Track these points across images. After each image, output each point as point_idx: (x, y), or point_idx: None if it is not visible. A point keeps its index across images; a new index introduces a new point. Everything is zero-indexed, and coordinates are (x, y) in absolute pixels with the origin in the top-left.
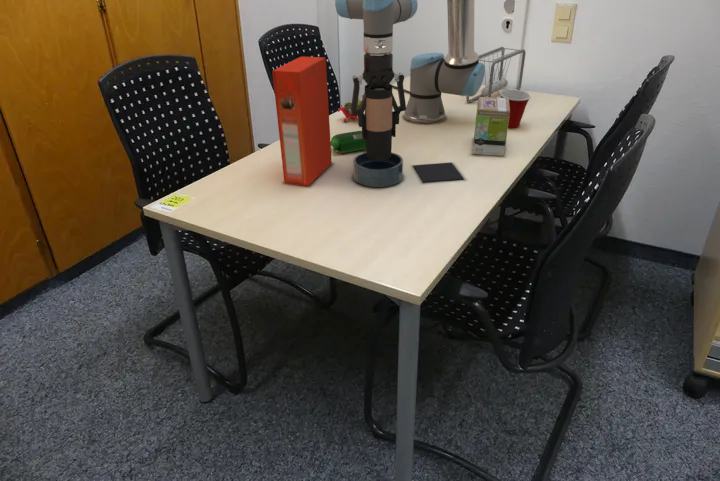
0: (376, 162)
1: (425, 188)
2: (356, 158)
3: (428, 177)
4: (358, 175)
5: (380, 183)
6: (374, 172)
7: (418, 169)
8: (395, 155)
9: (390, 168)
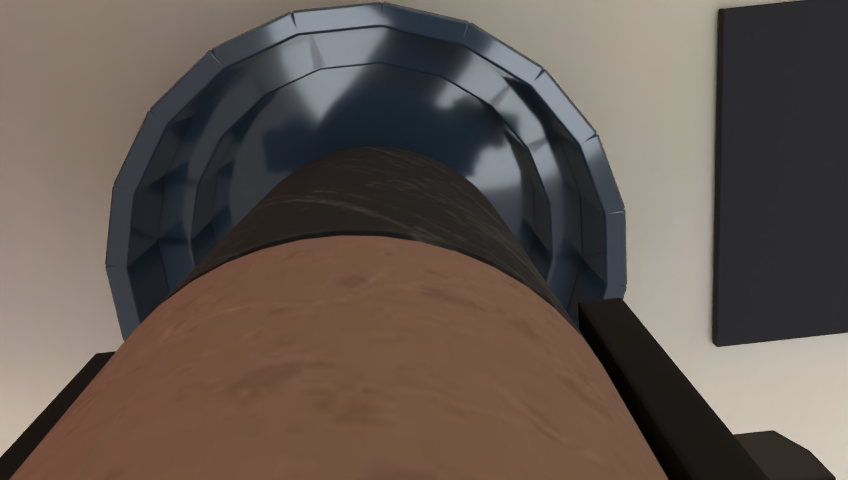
0: (367, 63)
1: None
2: (136, 200)
3: (778, 280)
4: None
5: None
6: None
7: (744, 112)
8: (571, 137)
9: None
